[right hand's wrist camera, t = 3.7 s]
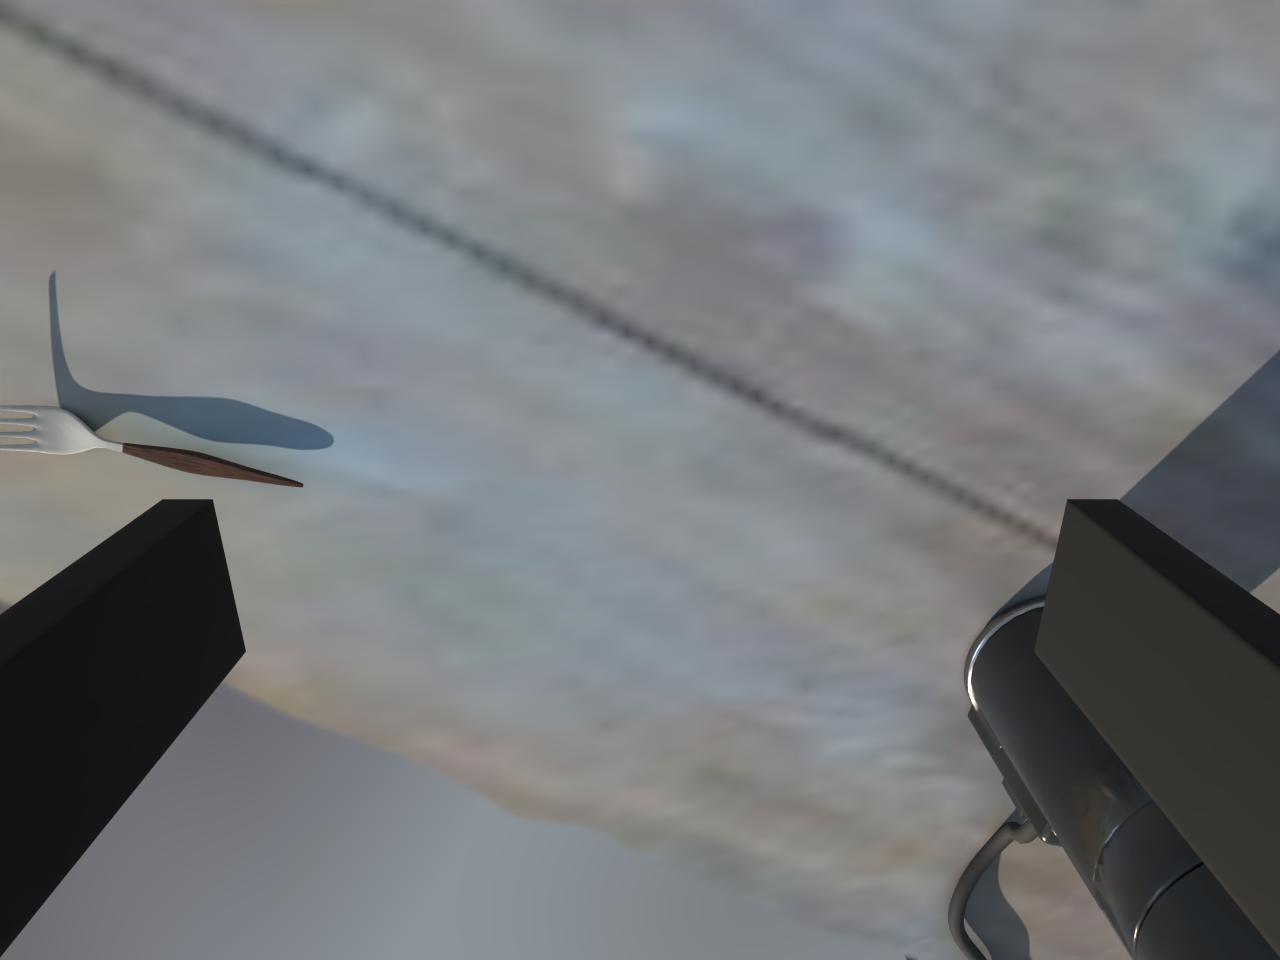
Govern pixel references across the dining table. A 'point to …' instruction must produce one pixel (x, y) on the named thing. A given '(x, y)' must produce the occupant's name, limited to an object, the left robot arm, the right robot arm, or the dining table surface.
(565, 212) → the dining table surface
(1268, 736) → the right robot arm
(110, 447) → the fork
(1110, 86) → the dining table surface
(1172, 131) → the dining table surface
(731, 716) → the dining table surface
